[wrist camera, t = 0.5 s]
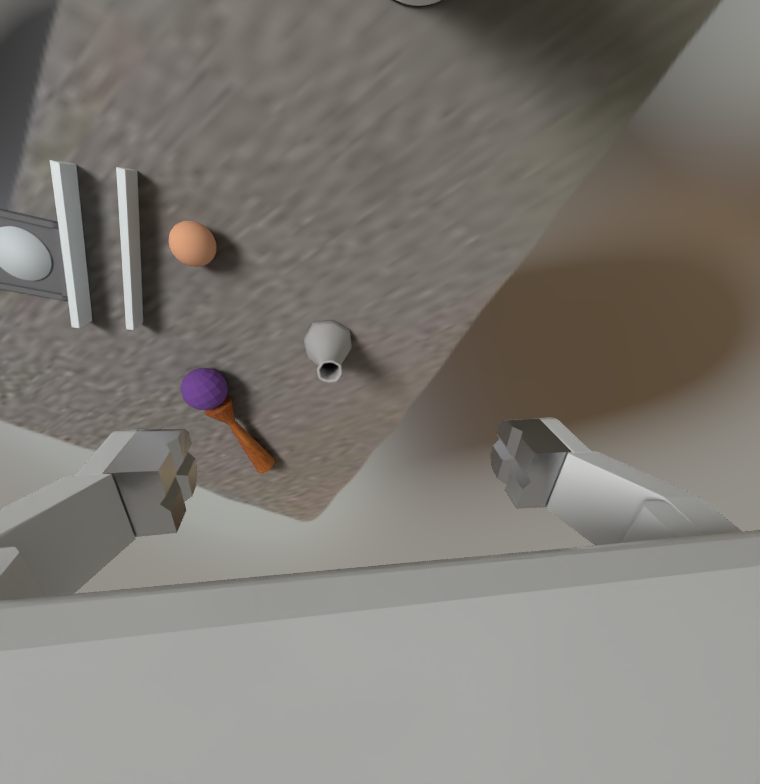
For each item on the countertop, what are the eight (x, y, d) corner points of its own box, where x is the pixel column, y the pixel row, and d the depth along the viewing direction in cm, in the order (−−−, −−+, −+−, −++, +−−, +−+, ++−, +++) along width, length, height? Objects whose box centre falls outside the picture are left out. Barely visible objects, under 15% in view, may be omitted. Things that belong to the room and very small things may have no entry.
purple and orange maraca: (245, 483, 59) (163, 391, 48) (255, 456, 64) (183, 366, 53) (277, 475, 58) (201, 379, 47) (285, 448, 63) (217, 355, 52)
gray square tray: (-33, 201, 40) (-41, 201, 39) (63, 223, 42) (58, 224, 41) (-14, 282, 44) (-21, 284, 43) (73, 298, 46) (68, 301, 45)
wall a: (129, 168, 40) (116, 167, 38) (137, 170, 41) (124, 169, 38) (136, 321, 48) (126, 328, 46) (143, 322, 48) (133, 330, 46)
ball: (177, 214, 43) (161, 217, 39) (221, 225, 44) (211, 229, 40) (177, 257, 45) (162, 264, 41) (219, 266, 47) (209, 274, 42)
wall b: (67, 162, 39) (49, 160, 37) (76, 164, 39) (59, 162, 37) (85, 319, 47) (71, 327, 45) (92, 320, 47) (79, 328, 45)
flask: (299, 360, 54) (296, 392, 46) (307, 314, 51) (305, 339, 43) (346, 368, 56) (351, 400, 48) (357, 324, 53) (364, 350, 44)
